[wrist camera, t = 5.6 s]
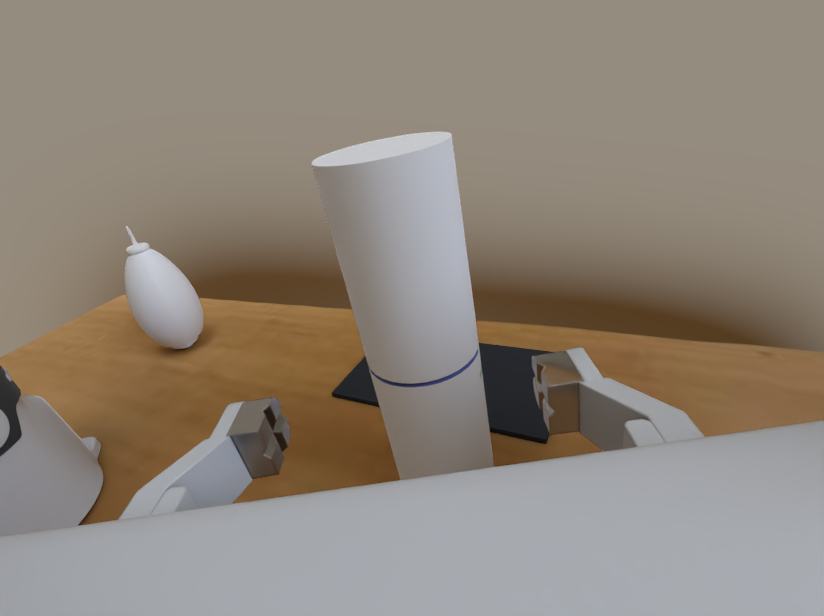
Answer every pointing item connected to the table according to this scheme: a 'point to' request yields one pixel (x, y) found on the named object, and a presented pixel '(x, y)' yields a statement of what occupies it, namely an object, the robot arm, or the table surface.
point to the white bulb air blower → (161, 297)
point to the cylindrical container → (411, 296)
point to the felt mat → (503, 387)
